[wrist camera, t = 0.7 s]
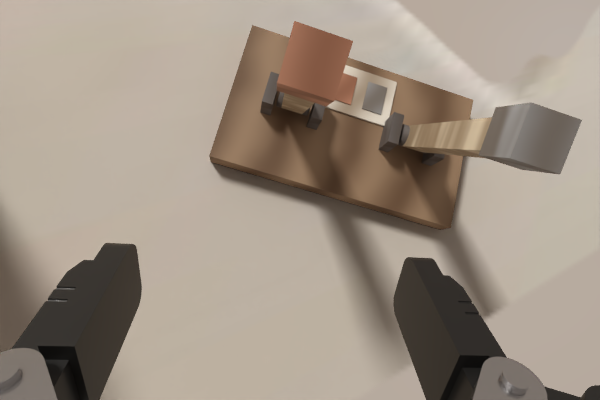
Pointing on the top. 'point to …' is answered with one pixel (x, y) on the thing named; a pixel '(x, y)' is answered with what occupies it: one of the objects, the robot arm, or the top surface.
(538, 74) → the top surface
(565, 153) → the slate lever
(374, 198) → the switch board
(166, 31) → the top surface
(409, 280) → the robot arm
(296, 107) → the terracotta lever
